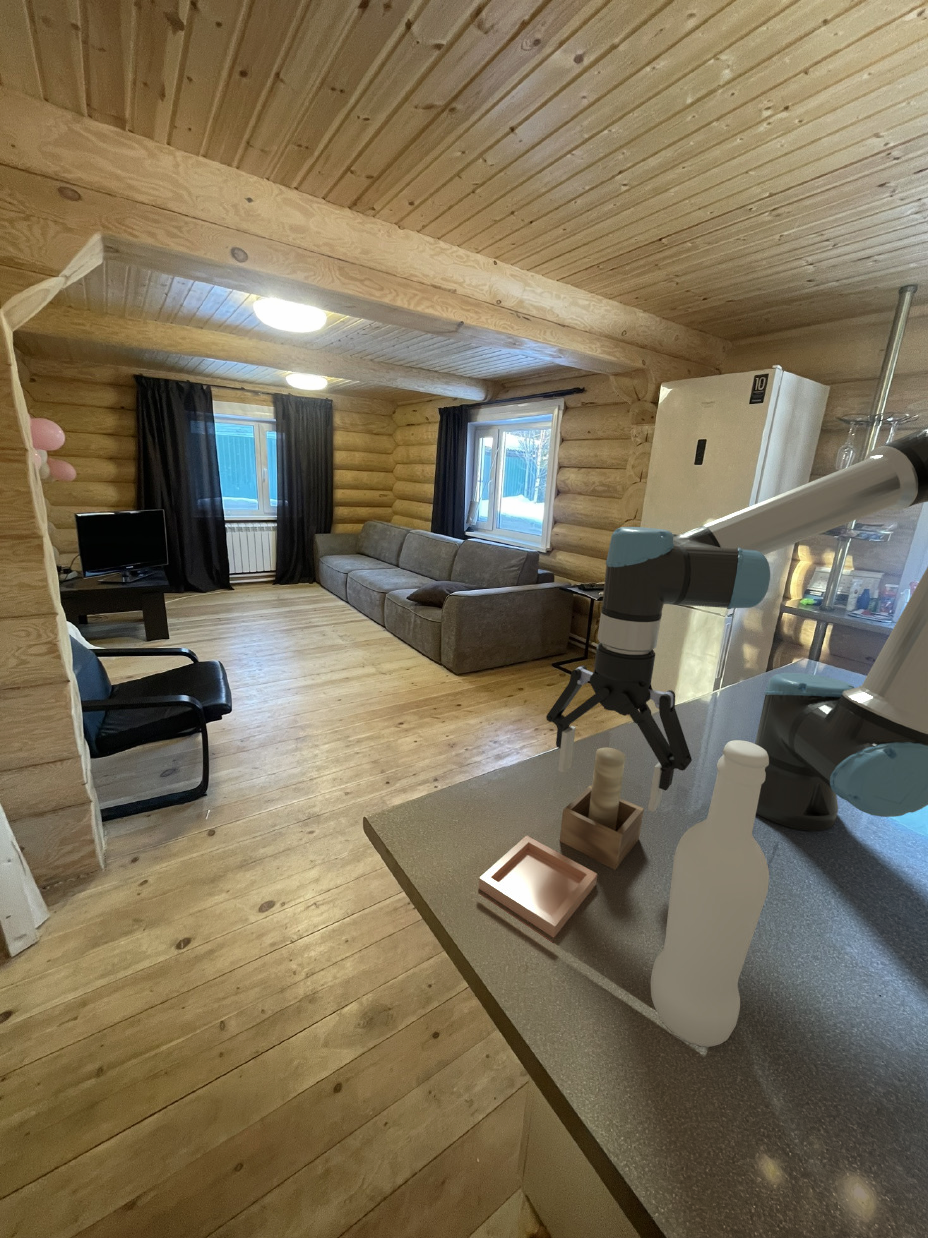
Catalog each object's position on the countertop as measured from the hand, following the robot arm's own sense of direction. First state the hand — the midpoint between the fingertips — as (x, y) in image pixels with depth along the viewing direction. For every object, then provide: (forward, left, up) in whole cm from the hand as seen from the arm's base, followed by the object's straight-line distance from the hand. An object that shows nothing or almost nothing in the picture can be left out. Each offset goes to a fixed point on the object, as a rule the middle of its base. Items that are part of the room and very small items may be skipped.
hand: (606, 786), depth 74 cm
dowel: (0, 0, -9) cm, 9 cm away
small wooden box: (0, 0, -10) cm, 10 cm away
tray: (+2, +14, -10) cm, 17 cm away
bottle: (-18, +17, -10) cm, 27 cm away
